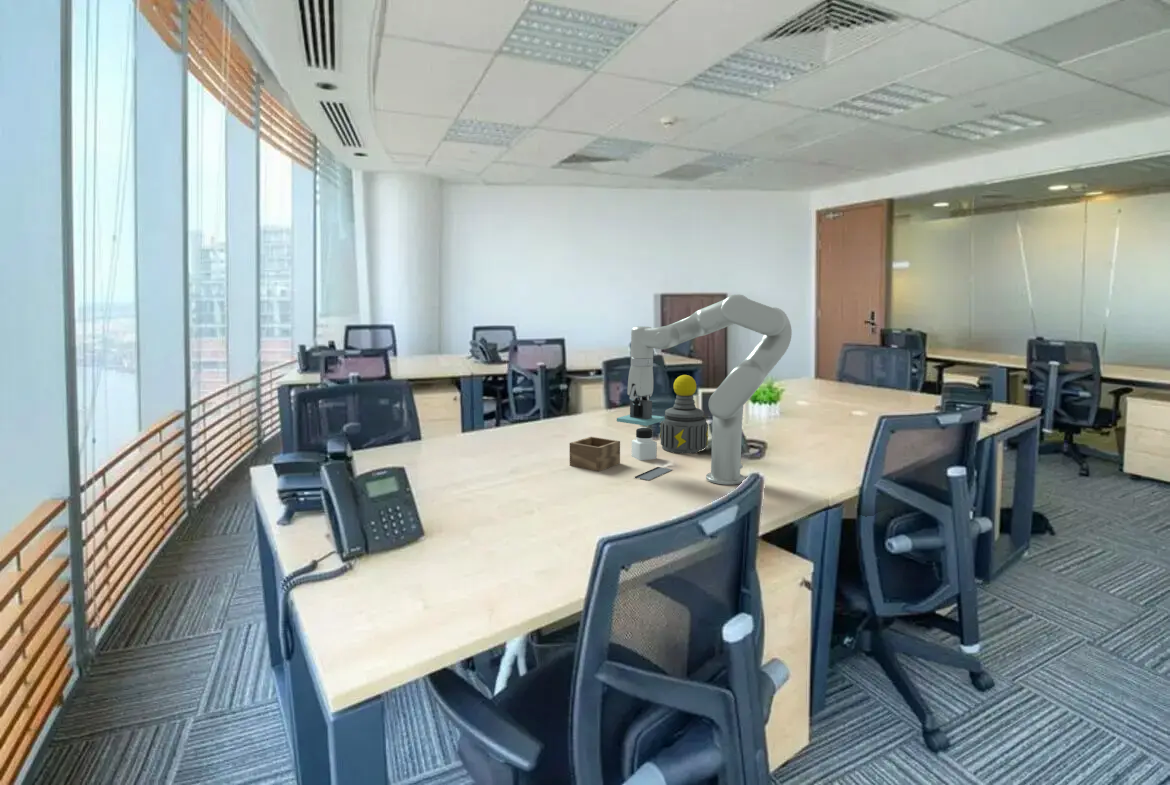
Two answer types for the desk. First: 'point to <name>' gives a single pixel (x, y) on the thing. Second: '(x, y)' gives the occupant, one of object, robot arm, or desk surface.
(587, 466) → the box
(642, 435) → the medicine bottle
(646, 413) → the lid
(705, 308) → the robot arm
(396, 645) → the desk surface
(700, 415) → the decorative lamp
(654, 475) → the mat
